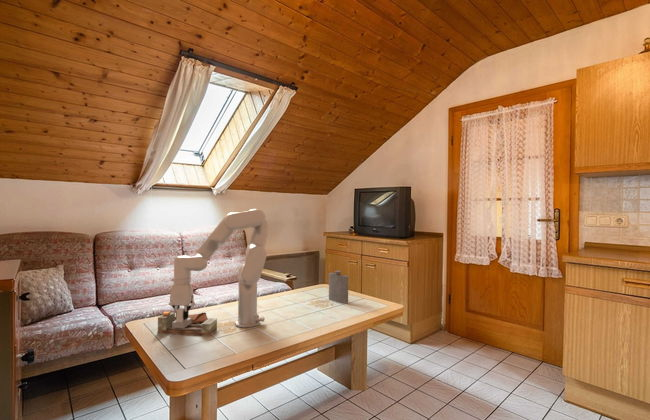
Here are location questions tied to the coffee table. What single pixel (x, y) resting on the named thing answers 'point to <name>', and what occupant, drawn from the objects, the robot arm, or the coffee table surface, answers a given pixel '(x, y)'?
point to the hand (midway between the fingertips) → (182, 318)
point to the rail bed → (203, 329)
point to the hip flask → (338, 287)
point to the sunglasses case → (197, 318)
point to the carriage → (180, 319)
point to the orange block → (166, 313)
